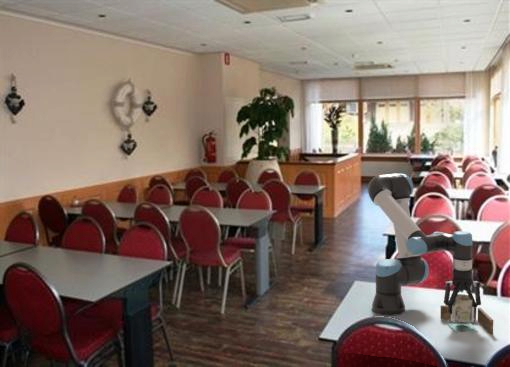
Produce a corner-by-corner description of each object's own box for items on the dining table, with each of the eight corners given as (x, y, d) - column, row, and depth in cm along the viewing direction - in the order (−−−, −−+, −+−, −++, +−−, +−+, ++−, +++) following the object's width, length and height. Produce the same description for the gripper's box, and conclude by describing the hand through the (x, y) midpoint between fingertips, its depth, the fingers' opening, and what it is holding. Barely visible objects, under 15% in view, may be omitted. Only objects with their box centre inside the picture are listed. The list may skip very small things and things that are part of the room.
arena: (452, 334, 202) (452, 320, 202) (440, 318, 219) (440, 305, 219) (493, 334, 201) (493, 320, 200) (477, 318, 218) (478, 305, 217)
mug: (475, 319, 210) (476, 296, 209) (464, 328, 201) (464, 304, 200) (456, 314, 216) (456, 292, 215) (444, 323, 207) (444, 300, 206)
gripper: (440, 271, 203) (440, 324, 205) (490, 270, 201) (490, 324, 204) (435, 266, 211) (435, 317, 213) (483, 265, 209) (483, 317, 211)
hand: (462, 320), depth 208 cm, fingers closed on mug, 7 cm apart
